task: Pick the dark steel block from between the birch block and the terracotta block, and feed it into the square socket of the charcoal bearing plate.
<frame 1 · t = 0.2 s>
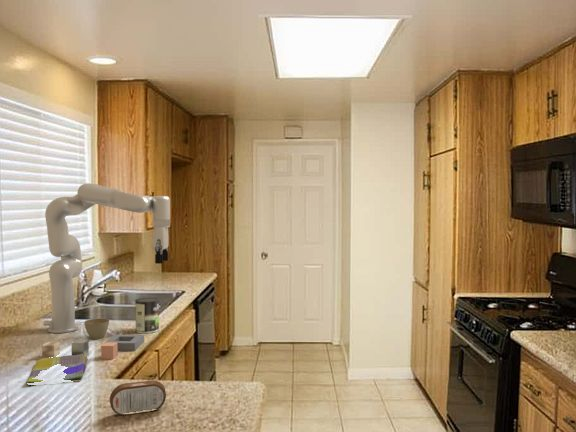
hand: (161, 262, 224), 31 cm above the table, fingers open, 9 cm apart
birch block: (51, 356, 188), on the table
dish towel: (58, 374, 172), on the table
tin: (138, 413, 140), on the table
flower pot: (97, 338, 214), on the table
terracotta block: (109, 357, 188), on the table
steel block: (80, 357, 188), on the table
bearing plate: (124, 346, 202), on the table
coffee can: (147, 331, 226), on the table
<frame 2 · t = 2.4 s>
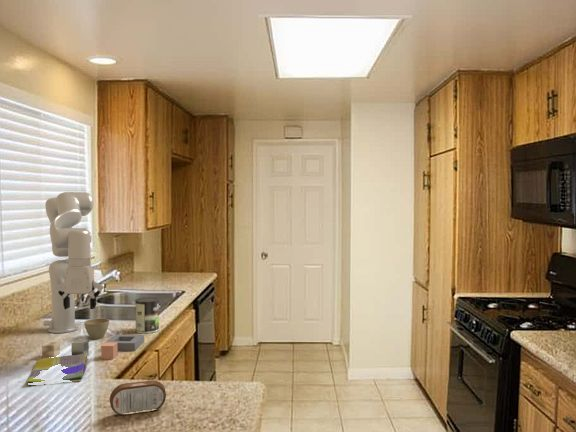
hand: (79, 308, 188), 18 cm above the table, fingers open, 9 cm apart
nothing on the table moved.
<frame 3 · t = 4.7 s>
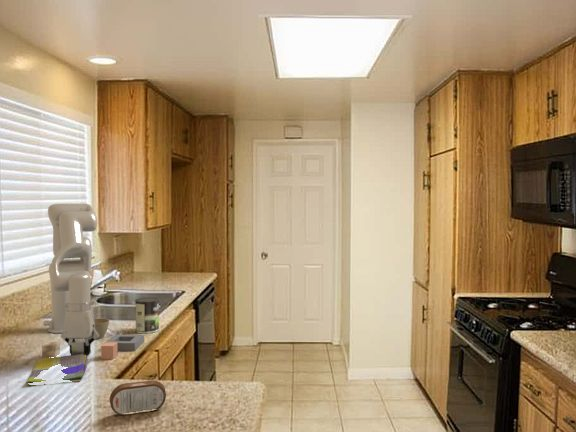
hand: (80, 354, 188), 1 cm above the table, fingers closed on steel block, 4 cm apart
steel block: (80, 356, 188), on the table, touching gripper
everything else where it was.
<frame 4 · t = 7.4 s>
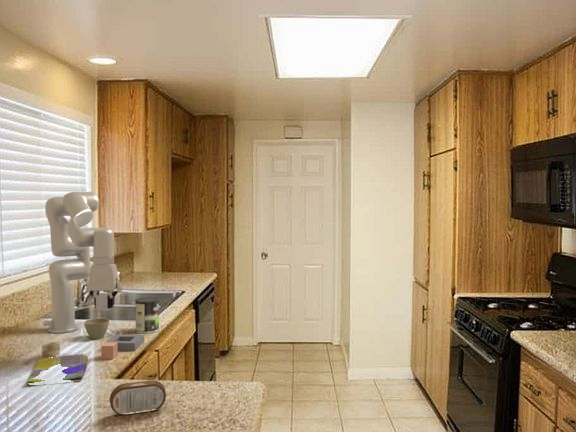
hand: (104, 307, 195), 17 cm above the table, fingers closed on steel block, 4 cm apart
steel block: (104, 309, 195), point 16 cm above the table, touching gripper
everything else where it was.
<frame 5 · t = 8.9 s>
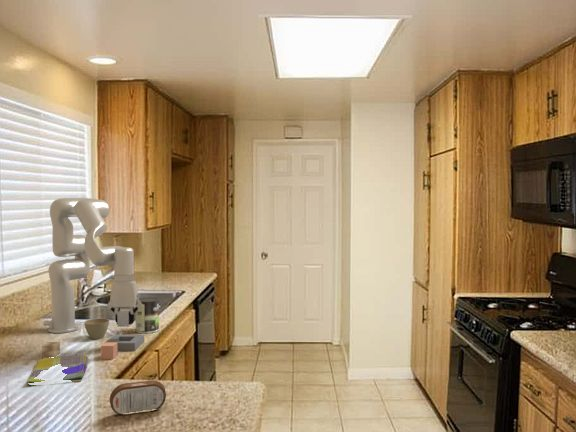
hand: (125, 323, 202), 9 cm above the table, fingers closed on steel block, 4 cm apart
steel block: (125, 325, 202), point 9 cm above the table, touching gripper
everything else where it was.
when the fingers open (5 cm above the table, at t = 10.1 s): steel block drops 3 cm, resting on bearing plate.
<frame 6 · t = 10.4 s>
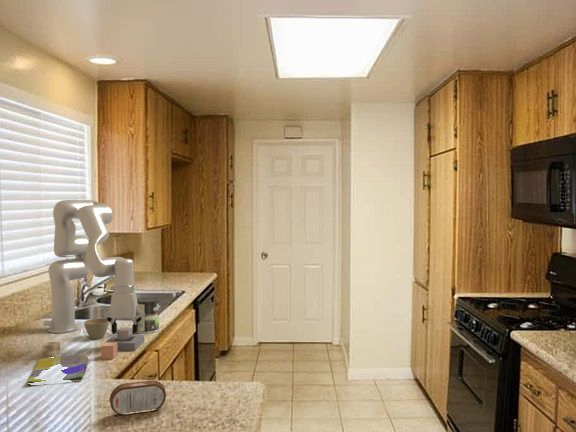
hand: (124, 333, 202), 5 cm above the table, fingers open, 7 cm apart
steel block: (124, 343, 202), point 1 cm above the table, touching bearing plate
everything else where it was.
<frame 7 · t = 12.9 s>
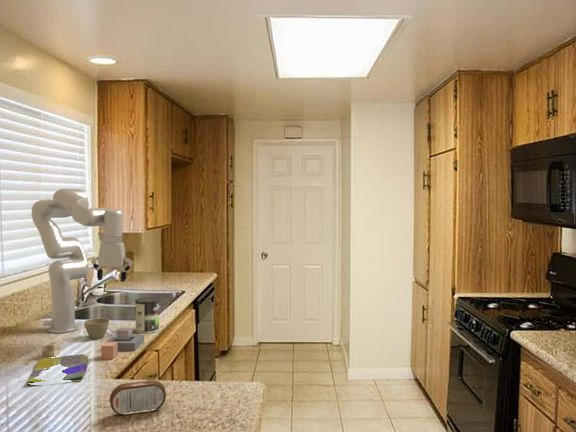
hand: (111, 280, 209), 25 cm above the table, fingers open, 9 cm apart
nothing on the table moved.
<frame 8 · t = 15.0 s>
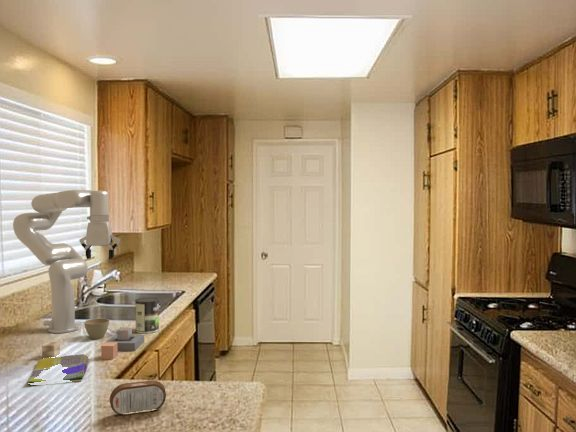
hand: (99, 258, 217), 33 cm above the table, fingers open, 9 cm apart
nothing on the table moved.
at the end: steel block 0.0 cm off-centre on the bearing plate, point 1.0 cm above the bearing plate's base; steel block tilted 0°; the gripper is holding nothing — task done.
